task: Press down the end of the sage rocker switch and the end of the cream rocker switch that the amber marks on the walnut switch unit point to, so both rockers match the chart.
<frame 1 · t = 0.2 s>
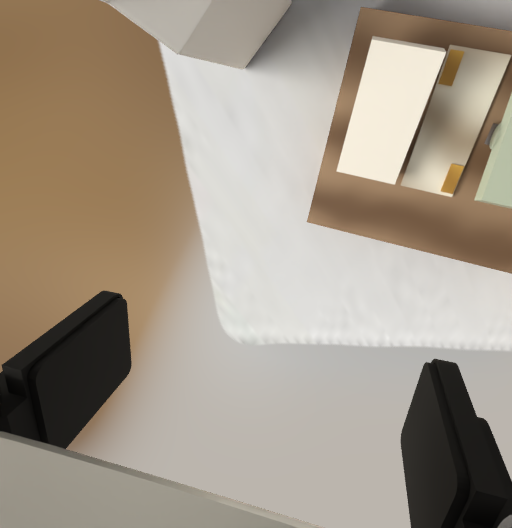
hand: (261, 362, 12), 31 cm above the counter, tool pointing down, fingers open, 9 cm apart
switch unit: (438, 146, 35), on the counter
cream rocker: (384, 114, 30), point 6 cm above the counter, hinge at 15.0°
milk carton: (240, 10, 35), on the counter
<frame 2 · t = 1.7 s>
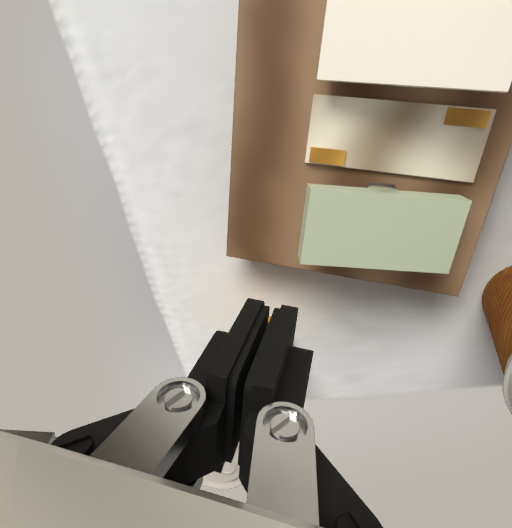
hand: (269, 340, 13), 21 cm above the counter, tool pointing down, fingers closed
switch unit: (360, 137, 29), on the counter
beer can: (262, 334, 39), on the counter
sage rocker: (377, 227, 25), point 6 cm above the counter, hinge at -15.0°
cream rocker: (417, 35, 20), point 6 cm above the counter, hinge at 15.0°
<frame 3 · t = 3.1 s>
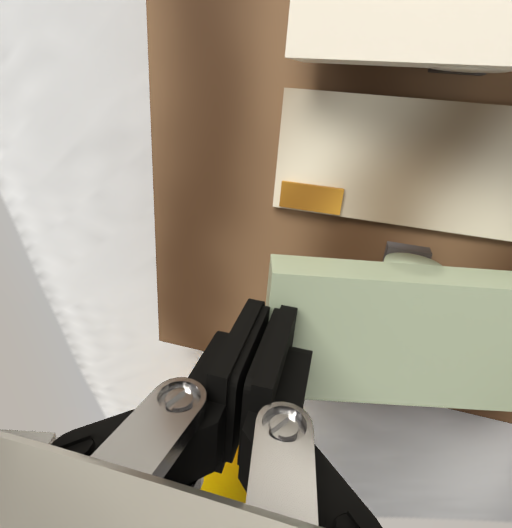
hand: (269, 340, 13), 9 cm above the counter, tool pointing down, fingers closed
switch unit: (367, 159, 18), on the counter
beer can: (228, 428, 27), on the counter
sage rocker: (399, 328, 14), point 6 cm above the counter, hinge at -14.7°, touching gripper
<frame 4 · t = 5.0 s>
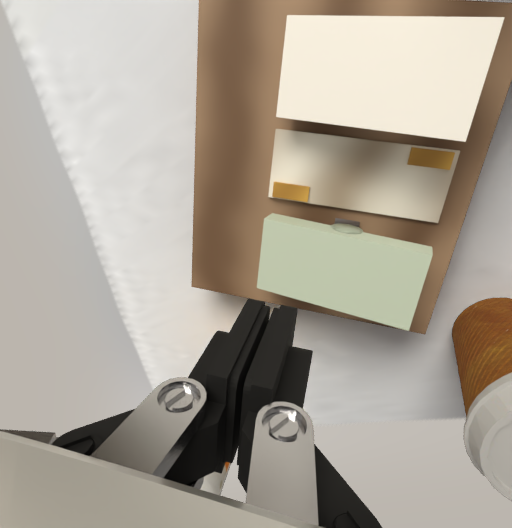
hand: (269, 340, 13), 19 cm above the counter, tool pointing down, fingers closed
switch unit: (327, 168, 28), on the counter
disposable coffee cup: (494, 330, 30), on the counter
beer can: (233, 361, 38), on the counter
sage rocker: (338, 266, 24), point 6 cm above the counter, hinge at 9.1°
cream rocker: (377, 77, 20), point 6 cm above the counter, hinge at 15.0°
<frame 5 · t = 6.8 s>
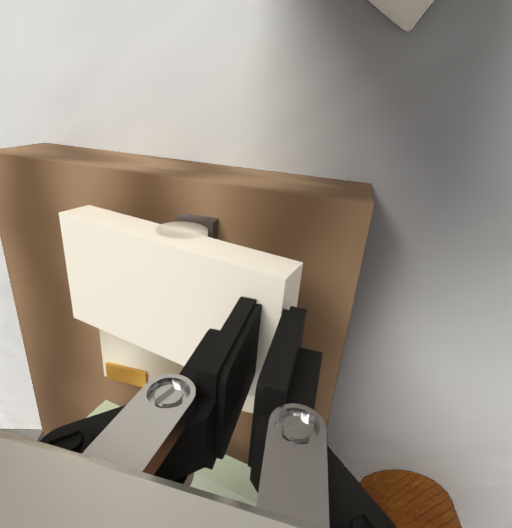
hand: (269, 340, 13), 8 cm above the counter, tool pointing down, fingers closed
switch unit: (192, 323, 24), on the counter
disposable coffee cup: (401, 499, 26), on the counter
sage rocker: (180, 472, 20), point 6 cm above the counter, hinge at 9.9°
cream rocker: (178, 289, 15), point 6 cm above the counter, hinge at 13.3°, touching gripper
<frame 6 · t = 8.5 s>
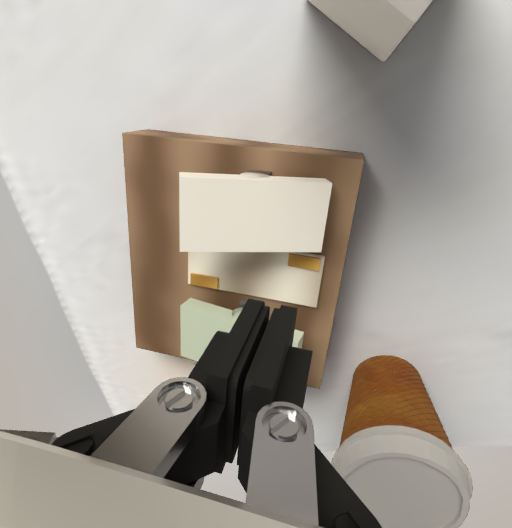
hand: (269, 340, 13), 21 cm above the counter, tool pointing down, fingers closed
switch unit: (242, 253, 35), on the counter
disposable coffee cup: (386, 380, 37), on the counter
sage rocker: (240, 341, 31), point 6 cm above the counter, hinge at 9.9°
cream rocker: (252, 212, 26), point 6 cm above the counter, hinge at -23.6°, touching switch unit
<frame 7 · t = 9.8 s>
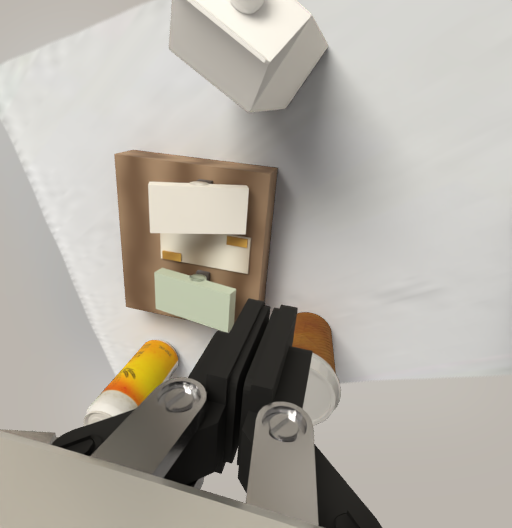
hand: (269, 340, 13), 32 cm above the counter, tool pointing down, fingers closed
switch unit: (201, 238, 48), on the counter
disposable coffee cup: (307, 331, 50), on the counter
beer can: (162, 352, 58), on the counter
sage rocker: (196, 297, 44), point 6 cm above the counter, hinge at 9.9°
cream rocker: (198, 207, 40), point 6 cm above the counter, hinge at -23.8°, touching switch unit
milk carton: (279, 56, 38), on the counter
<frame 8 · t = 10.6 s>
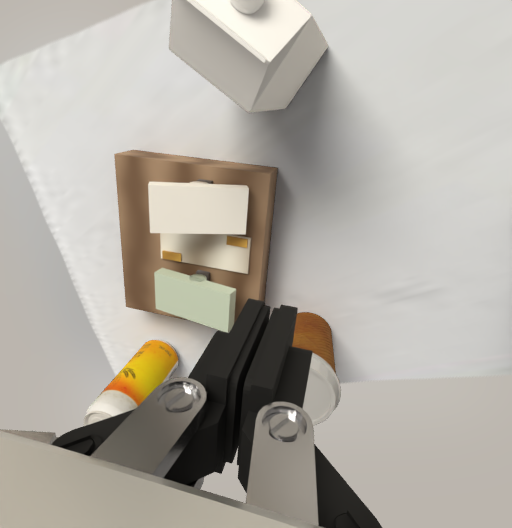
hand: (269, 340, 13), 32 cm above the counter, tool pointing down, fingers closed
switch unit: (201, 238, 48), on the counter
disposable coffee cup: (307, 331, 50), on the counter
beer can: (162, 352, 58), on the counter
sage rocker: (196, 297, 44), point 6 cm above the counter, hinge at 9.9°
cream rocker: (198, 207, 40), point 6 cm above the counter, hinge at -23.8°, touching switch unit
milk carton: (279, 56, 38), on the counter
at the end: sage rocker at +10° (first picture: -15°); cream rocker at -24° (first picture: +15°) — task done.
